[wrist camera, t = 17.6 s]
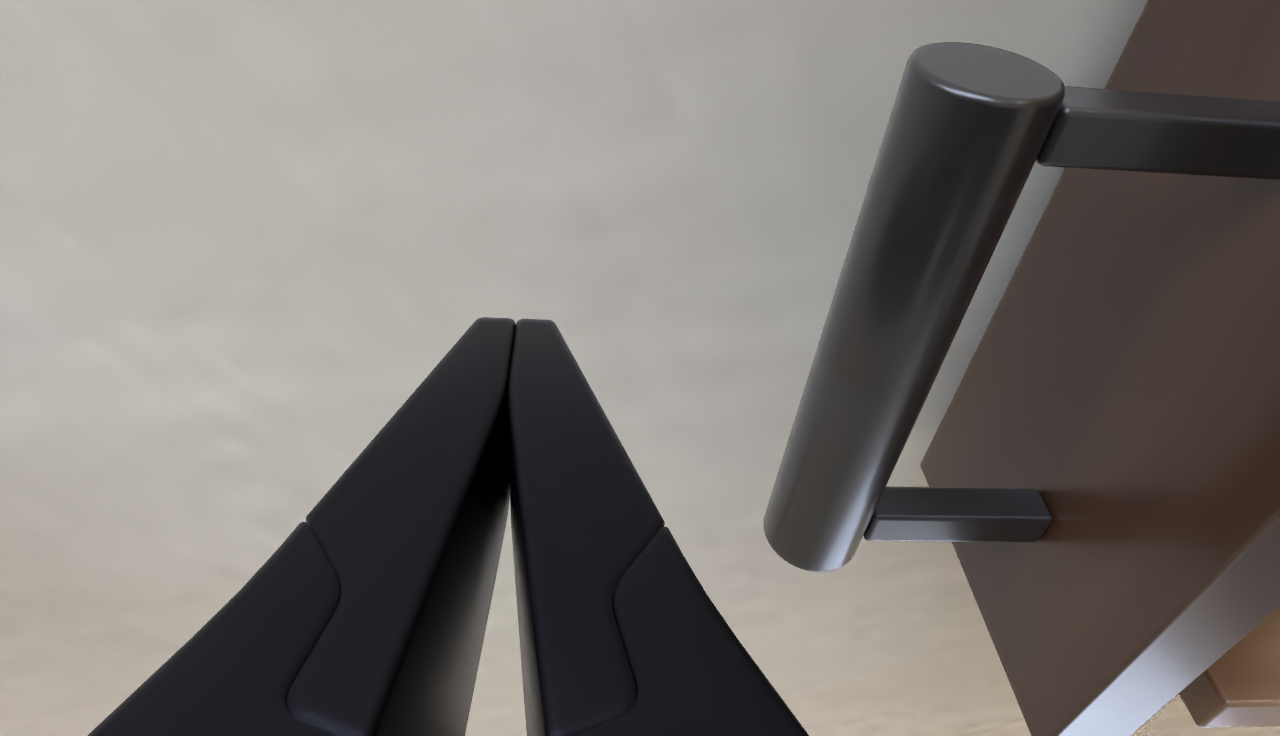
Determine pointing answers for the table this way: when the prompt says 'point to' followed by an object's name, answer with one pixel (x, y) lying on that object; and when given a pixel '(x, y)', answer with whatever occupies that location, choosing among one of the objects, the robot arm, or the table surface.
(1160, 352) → the drawer
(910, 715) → the table surface
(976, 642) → the table surface
